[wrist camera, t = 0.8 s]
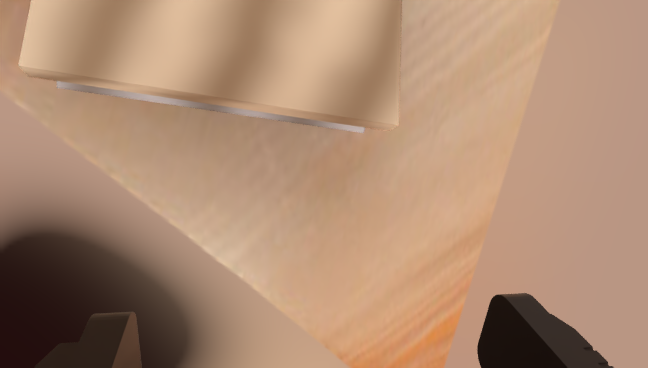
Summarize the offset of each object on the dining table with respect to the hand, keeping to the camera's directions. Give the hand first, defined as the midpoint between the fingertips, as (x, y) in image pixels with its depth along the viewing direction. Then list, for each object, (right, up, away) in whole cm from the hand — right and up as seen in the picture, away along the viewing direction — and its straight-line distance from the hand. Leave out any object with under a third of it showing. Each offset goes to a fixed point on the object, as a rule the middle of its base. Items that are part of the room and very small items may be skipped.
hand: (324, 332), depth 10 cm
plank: (-5, +11, +13) cm, 18 cm away
